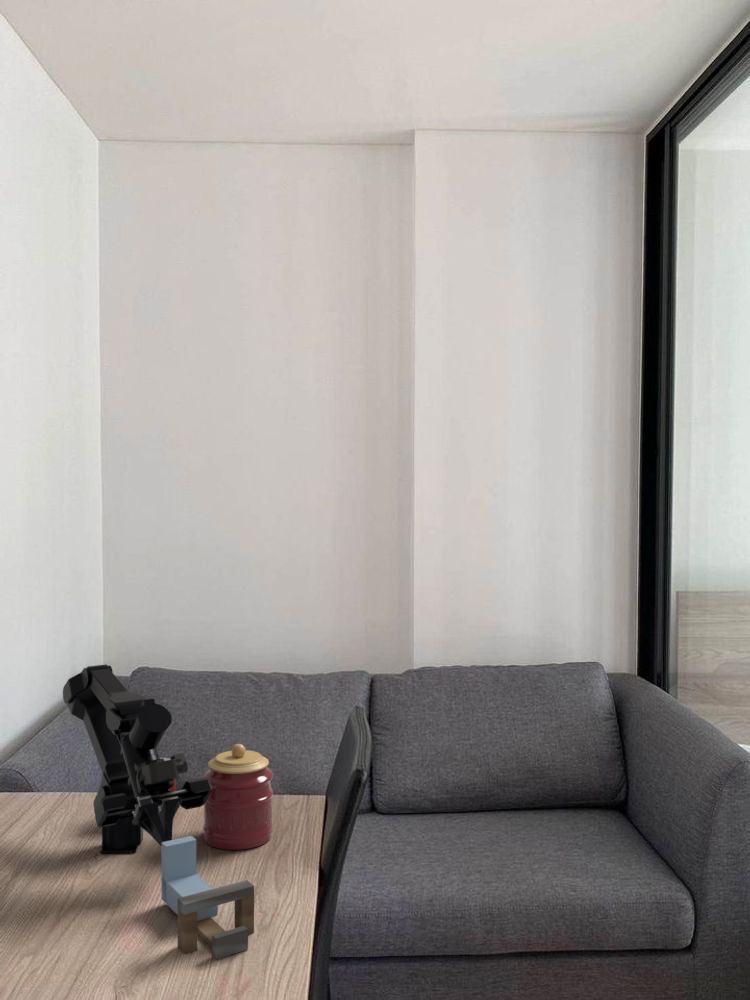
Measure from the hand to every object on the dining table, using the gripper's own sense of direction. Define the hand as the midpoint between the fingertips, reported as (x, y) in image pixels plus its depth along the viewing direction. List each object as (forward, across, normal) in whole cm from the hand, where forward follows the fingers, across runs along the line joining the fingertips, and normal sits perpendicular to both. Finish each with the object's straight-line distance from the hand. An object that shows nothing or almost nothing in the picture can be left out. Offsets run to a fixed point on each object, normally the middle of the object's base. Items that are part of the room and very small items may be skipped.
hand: (168, 849), depth 150 cm
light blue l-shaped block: (+10, 0, -2) cm, 10 cm away
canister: (-5, +20, +16) cm, 26 cm away
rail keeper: (+15, 0, -5) cm, 16 cm away
